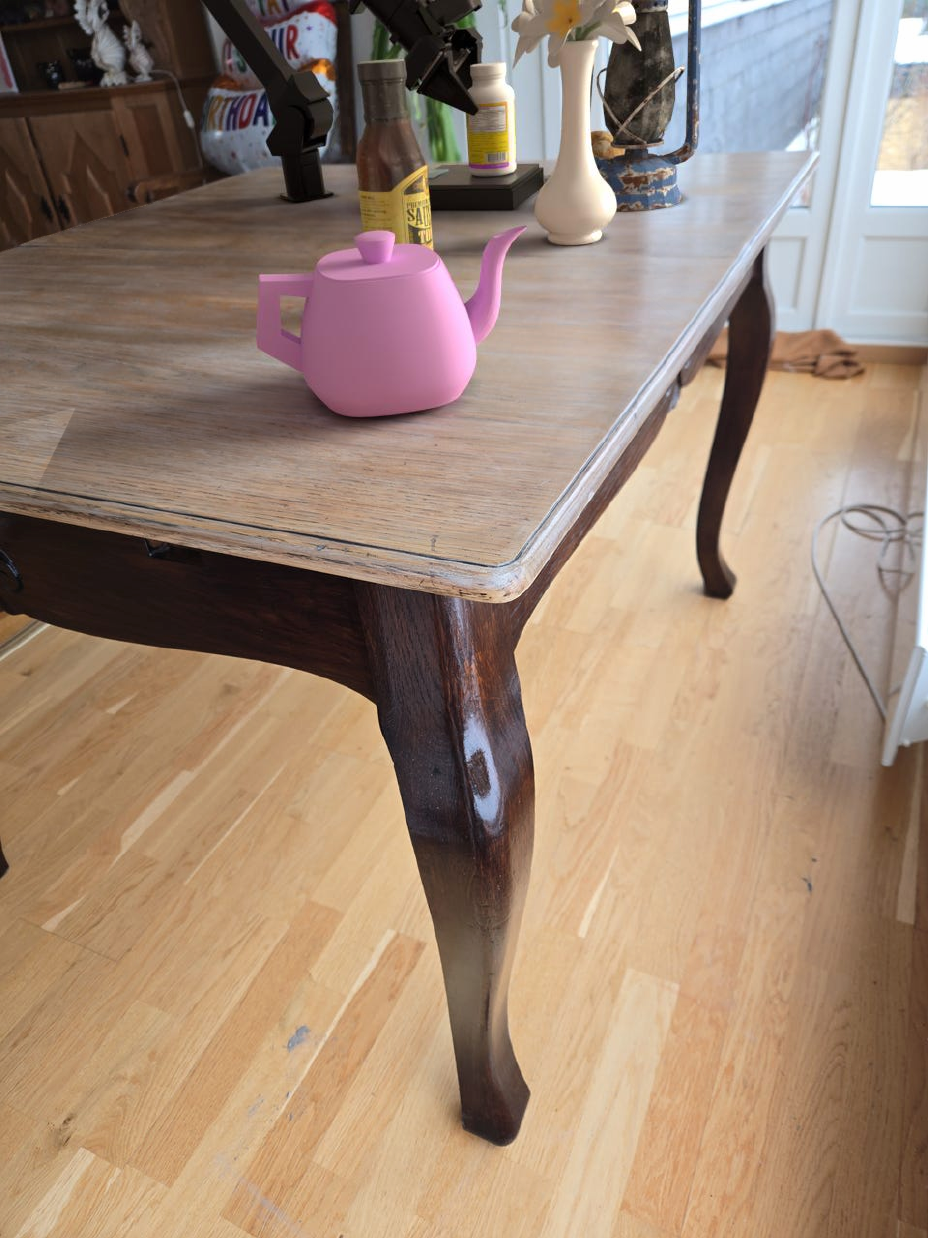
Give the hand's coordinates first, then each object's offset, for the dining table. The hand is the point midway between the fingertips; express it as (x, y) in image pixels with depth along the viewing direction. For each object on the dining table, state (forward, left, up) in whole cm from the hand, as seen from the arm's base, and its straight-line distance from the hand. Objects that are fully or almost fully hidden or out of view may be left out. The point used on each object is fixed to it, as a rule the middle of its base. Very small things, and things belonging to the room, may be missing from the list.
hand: (487, 107), depth 115 cm
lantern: (+17, +11, -11) cm, 23 cm away
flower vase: (+27, -7, -11) cm, 30 cm away
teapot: (+55, -44, -11) cm, 71 cm away
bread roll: (+1, +17, -11) cm, 21 cm away
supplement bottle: (0, 0, -8) cm, 8 cm away
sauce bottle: (+37, -34, -11) cm, 51 cm away
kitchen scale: (-2, -2, -11) cm, 11 cm away
